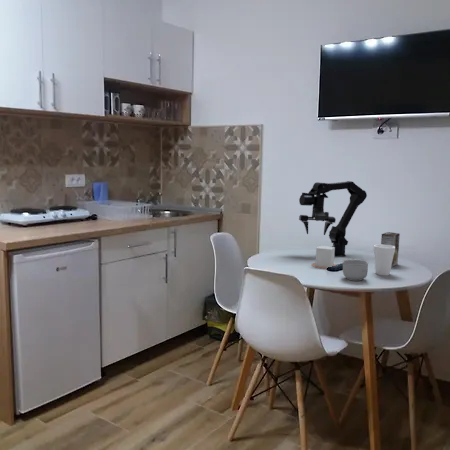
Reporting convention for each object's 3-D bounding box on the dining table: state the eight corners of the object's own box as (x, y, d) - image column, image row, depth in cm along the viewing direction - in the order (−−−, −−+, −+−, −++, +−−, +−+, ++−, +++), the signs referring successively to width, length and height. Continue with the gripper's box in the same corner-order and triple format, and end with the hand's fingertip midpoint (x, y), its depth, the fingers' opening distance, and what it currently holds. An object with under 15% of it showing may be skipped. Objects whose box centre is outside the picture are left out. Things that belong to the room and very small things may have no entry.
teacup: (366, 283, 196) (367, 265, 195) (340, 280, 199) (341, 262, 198) (367, 276, 209) (368, 258, 208) (343, 273, 212) (344, 256, 211)
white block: (318, 263, 230) (319, 245, 229) (333, 265, 227) (334, 247, 226) (315, 266, 223) (316, 248, 222) (330, 268, 220) (331, 249, 219)
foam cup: (379, 276, 208) (381, 248, 207) (367, 271, 217) (369, 244, 215) (397, 275, 211) (399, 247, 209) (385, 270, 220) (387, 244, 218)
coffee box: (385, 262, 240) (387, 231, 237) (397, 264, 236) (400, 233, 233) (378, 265, 233) (381, 233, 230) (391, 267, 228) (394, 235, 226)
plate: (334, 264, 232) (334, 263, 232) (341, 270, 219) (341, 269, 219) (308, 263, 232) (308, 262, 232) (314, 269, 219) (314, 268, 219)
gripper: (303, 206, 239) (301, 235, 241) (339, 208, 239) (336, 237, 241) (300, 204, 250) (297, 232, 252) (334, 206, 250) (331, 234, 252)
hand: (315, 234), depth 249 cm, fingers open, 9 cm apart
